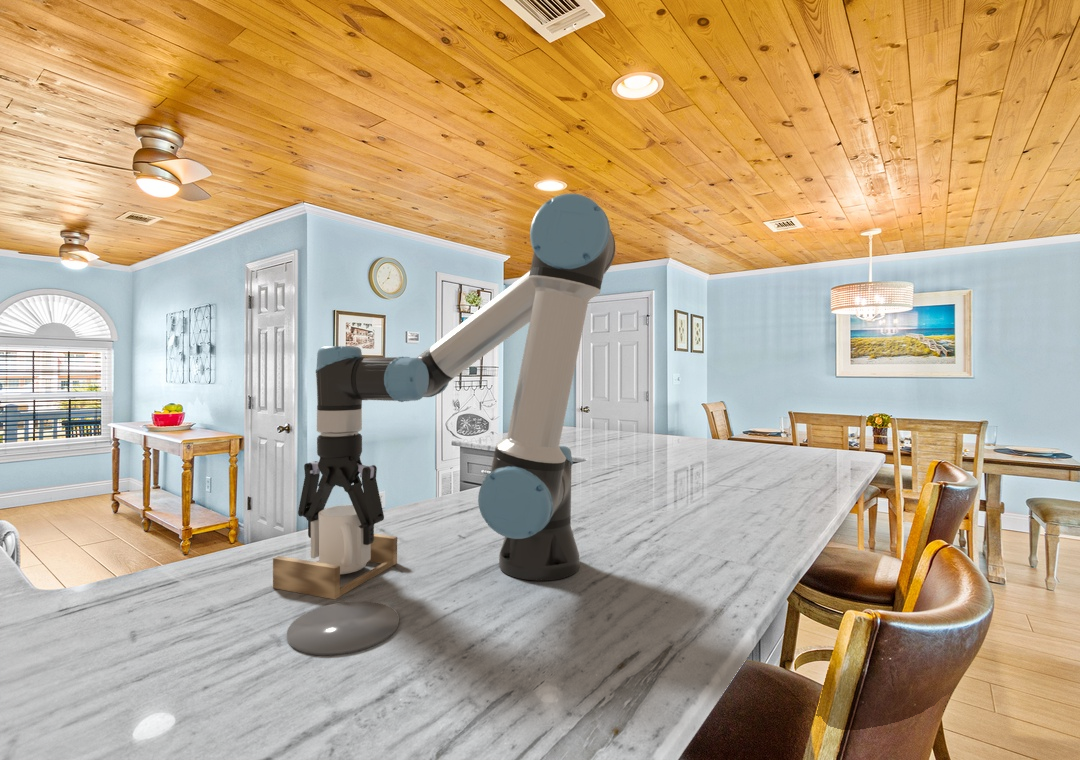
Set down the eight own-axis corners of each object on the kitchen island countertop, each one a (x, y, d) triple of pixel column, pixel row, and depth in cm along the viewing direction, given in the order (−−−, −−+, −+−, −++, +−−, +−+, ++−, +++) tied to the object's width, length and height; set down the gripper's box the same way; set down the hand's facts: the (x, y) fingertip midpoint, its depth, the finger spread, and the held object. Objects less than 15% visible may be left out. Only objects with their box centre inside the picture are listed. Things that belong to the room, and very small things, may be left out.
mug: (373, 578, 94) (373, 518, 94) (321, 586, 91) (321, 524, 91) (364, 556, 105) (363, 502, 105) (317, 563, 102) (317, 507, 101)
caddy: (397, 563, 104) (397, 536, 104) (334, 599, 88) (335, 568, 88) (342, 554, 109) (342, 529, 108) (272, 588, 92) (273, 558, 92)
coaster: (418, 614, 83) (418, 610, 83) (354, 664, 69) (354, 659, 69) (336, 599, 88) (336, 595, 88) (261, 643, 74) (261, 638, 74)
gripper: (405, 433, 98) (405, 559, 98) (305, 428, 105) (306, 545, 105) (379, 438, 91) (380, 573, 91) (274, 433, 98) (275, 558, 98)
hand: (340, 558), depth 98 cm, fingers closed on mug, 9 cm apart
